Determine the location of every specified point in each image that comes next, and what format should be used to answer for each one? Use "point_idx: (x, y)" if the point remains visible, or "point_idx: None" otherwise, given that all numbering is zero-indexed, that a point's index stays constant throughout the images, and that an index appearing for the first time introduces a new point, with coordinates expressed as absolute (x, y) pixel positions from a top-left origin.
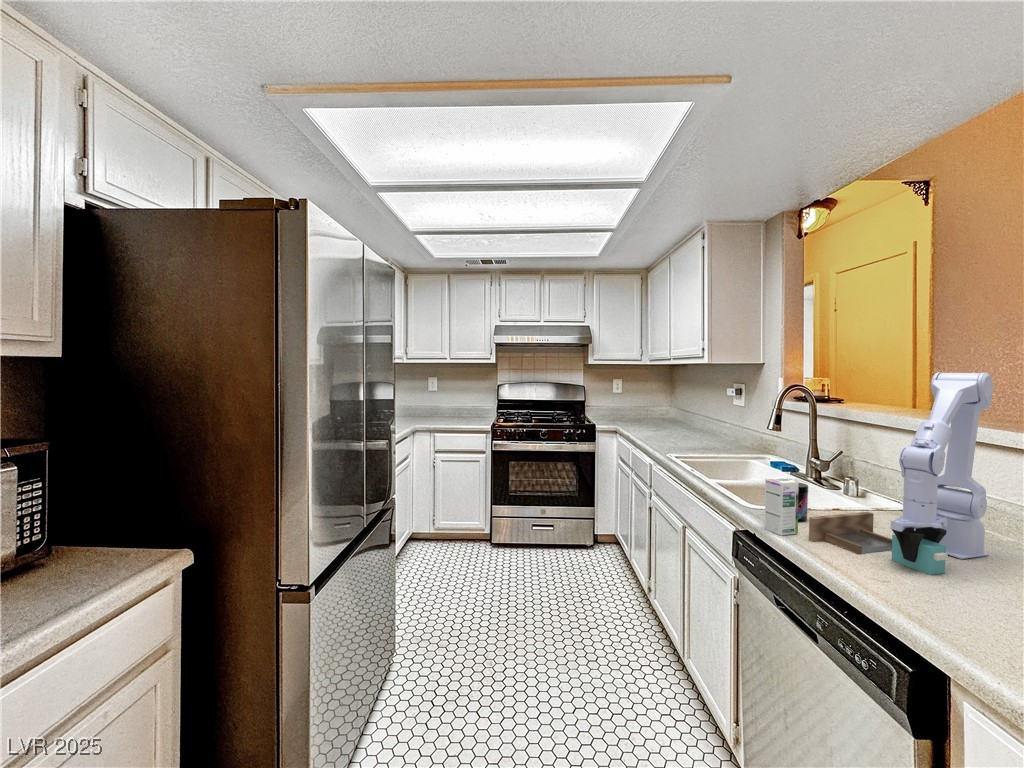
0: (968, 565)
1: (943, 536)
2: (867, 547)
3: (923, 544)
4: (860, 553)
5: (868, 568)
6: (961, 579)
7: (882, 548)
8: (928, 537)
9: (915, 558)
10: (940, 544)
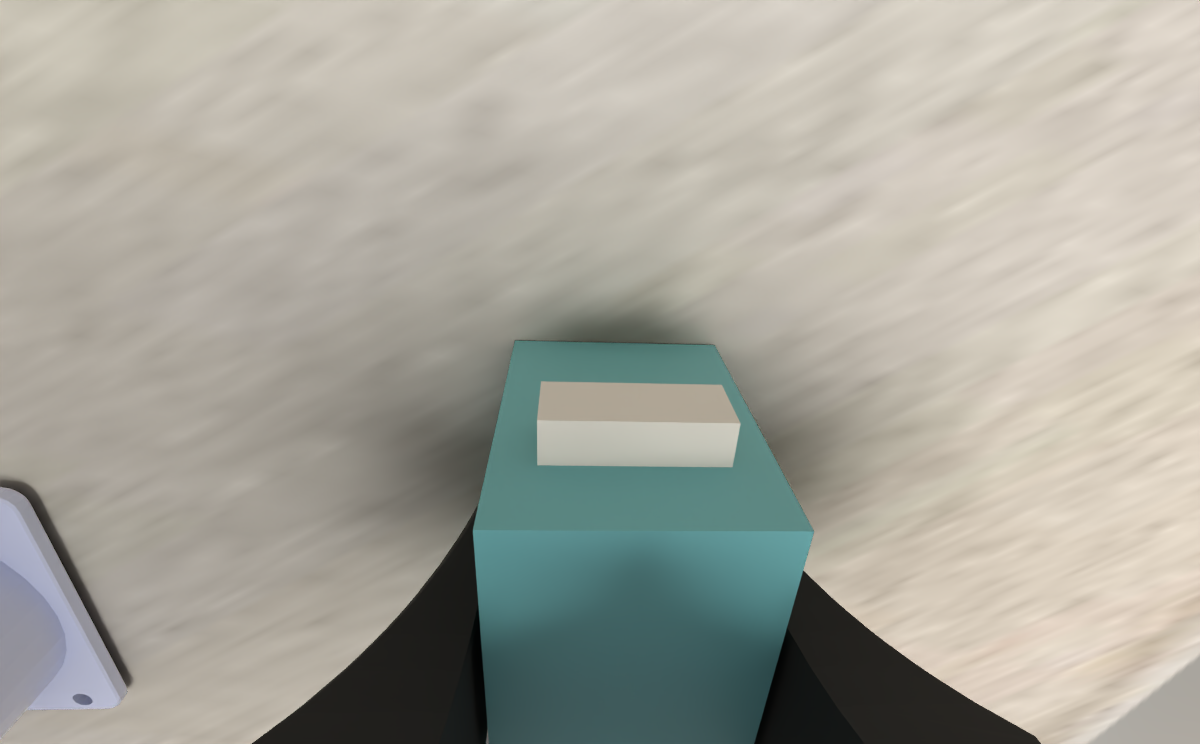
0: (74, 391)
1: (306, 715)
2: None
3: (757, 624)
4: None
5: (1026, 540)
6: (525, 192)
7: None
8: (467, 740)
9: None
10: (498, 579)
